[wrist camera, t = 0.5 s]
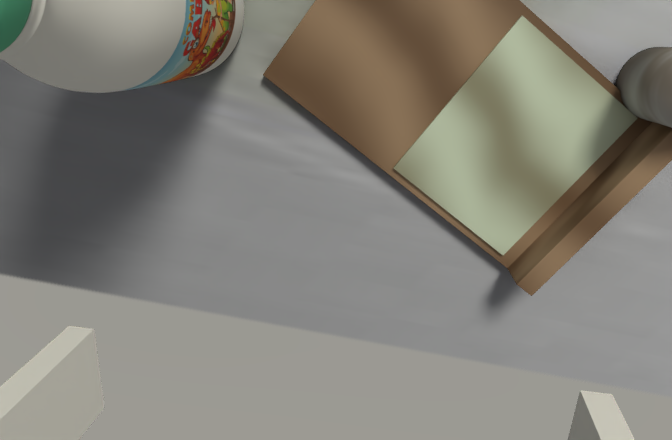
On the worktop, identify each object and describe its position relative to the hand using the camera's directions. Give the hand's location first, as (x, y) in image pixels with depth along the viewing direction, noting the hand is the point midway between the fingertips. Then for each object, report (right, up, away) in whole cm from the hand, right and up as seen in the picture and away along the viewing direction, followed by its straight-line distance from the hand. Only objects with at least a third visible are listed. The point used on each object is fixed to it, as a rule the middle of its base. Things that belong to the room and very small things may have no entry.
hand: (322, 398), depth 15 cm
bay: (+9, +13, +17) cm, 23 cm away
